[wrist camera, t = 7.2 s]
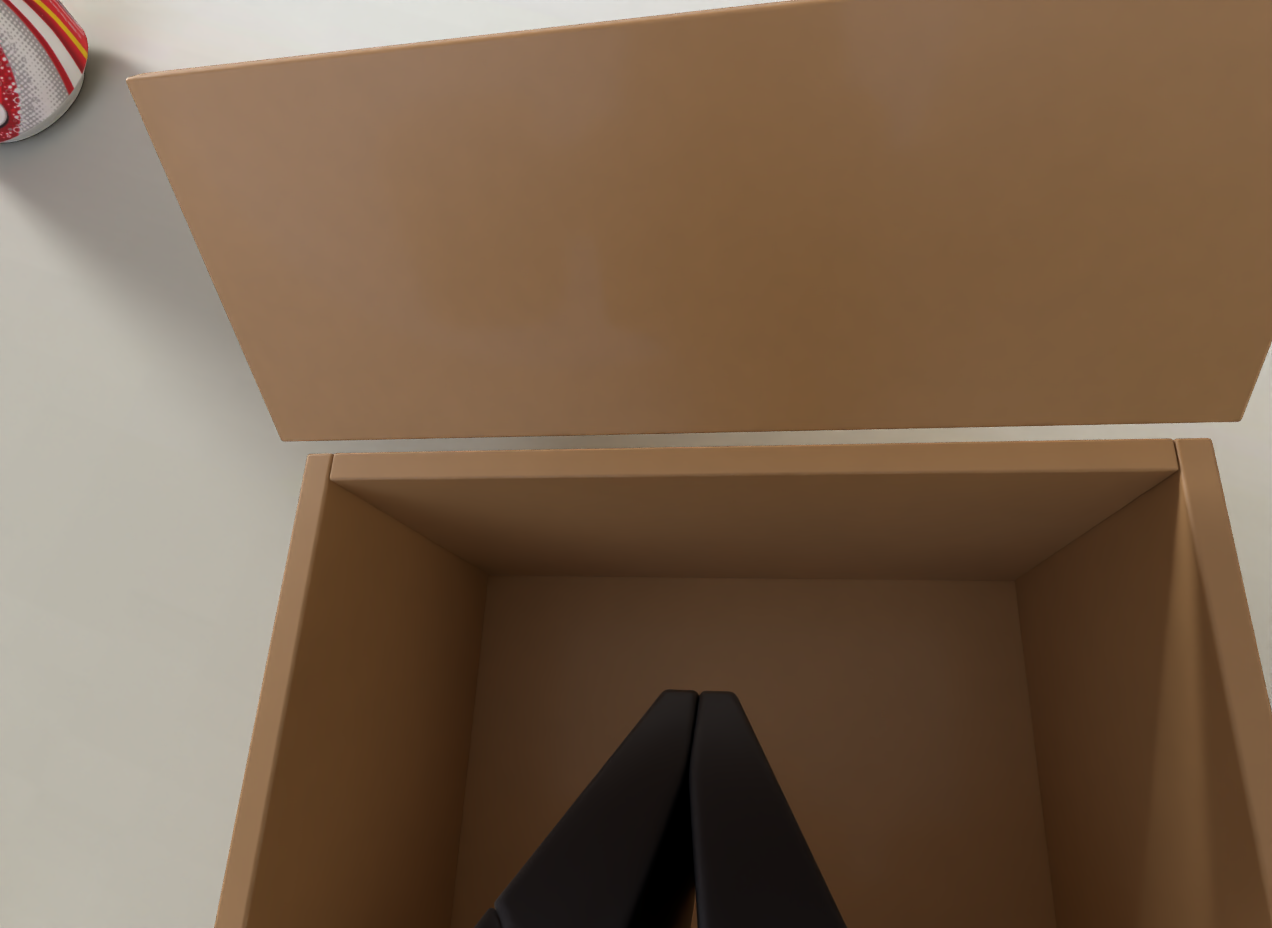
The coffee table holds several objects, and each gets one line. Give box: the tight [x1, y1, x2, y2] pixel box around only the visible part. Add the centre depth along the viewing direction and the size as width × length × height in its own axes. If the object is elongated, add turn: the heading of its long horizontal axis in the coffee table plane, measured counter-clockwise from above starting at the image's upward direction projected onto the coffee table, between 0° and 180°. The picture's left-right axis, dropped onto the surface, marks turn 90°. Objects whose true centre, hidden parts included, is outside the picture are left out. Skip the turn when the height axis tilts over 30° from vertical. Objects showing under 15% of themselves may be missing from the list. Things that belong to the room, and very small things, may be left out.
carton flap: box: [126, 0, 1272, 441], centre depth 10 cm, size 5×14×1 cm
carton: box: [214, 438, 1272, 928], centre depth 14 cm, size 11×14×8 cm
